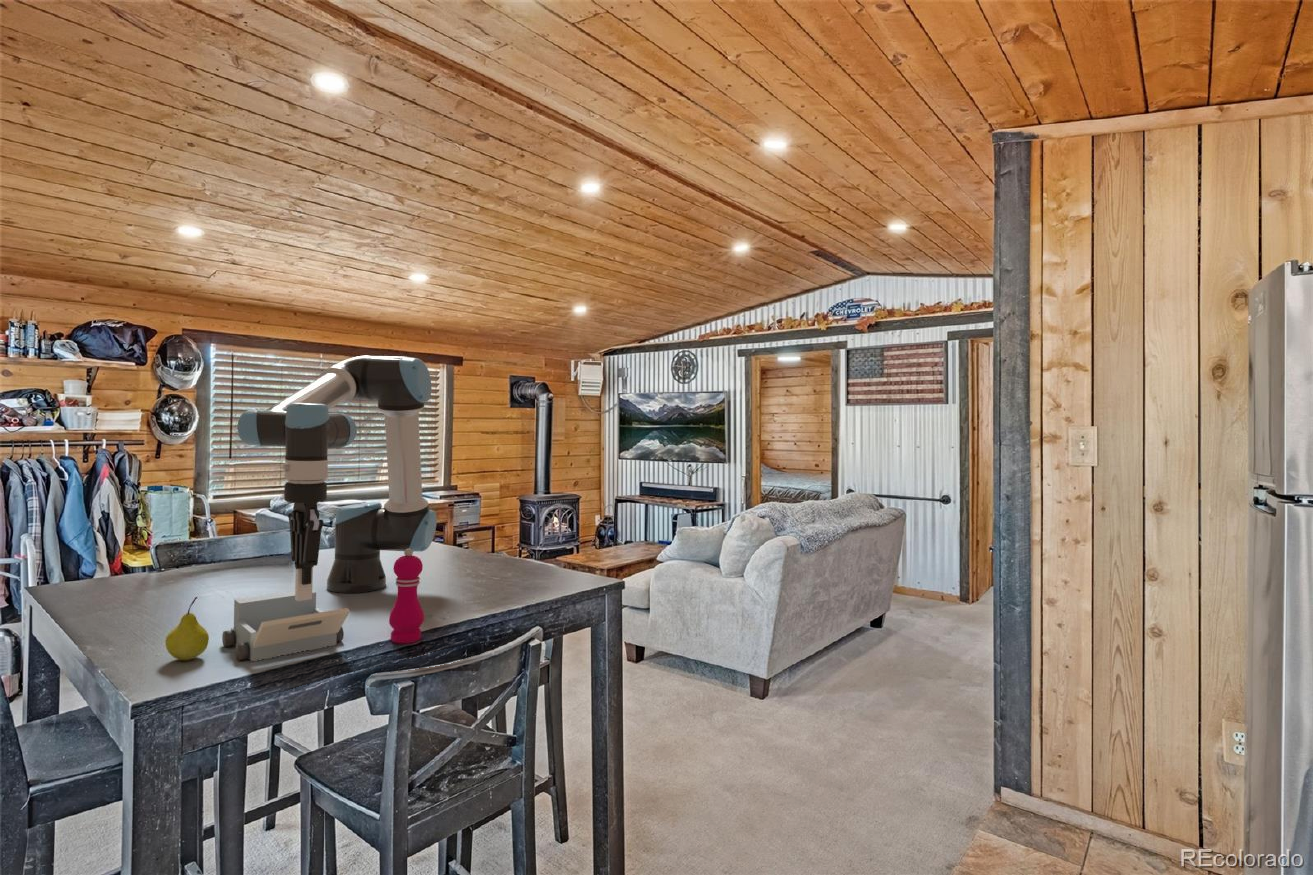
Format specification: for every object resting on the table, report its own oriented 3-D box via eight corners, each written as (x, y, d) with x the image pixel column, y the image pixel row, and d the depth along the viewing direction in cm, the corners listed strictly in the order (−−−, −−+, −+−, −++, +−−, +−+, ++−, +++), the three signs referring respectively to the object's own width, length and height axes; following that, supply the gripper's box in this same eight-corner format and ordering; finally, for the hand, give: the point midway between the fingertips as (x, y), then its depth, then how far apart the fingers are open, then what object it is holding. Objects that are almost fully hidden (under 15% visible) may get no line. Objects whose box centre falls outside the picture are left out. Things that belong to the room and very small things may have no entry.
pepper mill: (394, 633, 156) (396, 544, 156) (427, 634, 157) (429, 545, 156) (384, 644, 149) (386, 551, 148) (418, 644, 150) (421, 552, 149)
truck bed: (220, 643, 146) (221, 601, 145) (319, 626, 159) (320, 587, 159) (241, 664, 135) (242, 617, 135) (345, 643, 149) (346, 601, 148)
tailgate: (252, 643, 136) (261, 622, 132) (337, 628, 147) (348, 607, 143) (253, 649, 135) (262, 627, 131) (338, 633, 147) (349, 612, 142)
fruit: (175, 668, 131) (176, 605, 131) (158, 660, 135) (159, 599, 135) (214, 658, 137) (215, 598, 137) (197, 651, 141) (198, 592, 141)
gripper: (274, 478, 140) (272, 595, 141) (296, 485, 131) (294, 610, 131) (314, 477, 145) (312, 589, 146) (338, 483, 136) (335, 603, 137)
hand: (303, 599), depth 139 cm, fingers closed
